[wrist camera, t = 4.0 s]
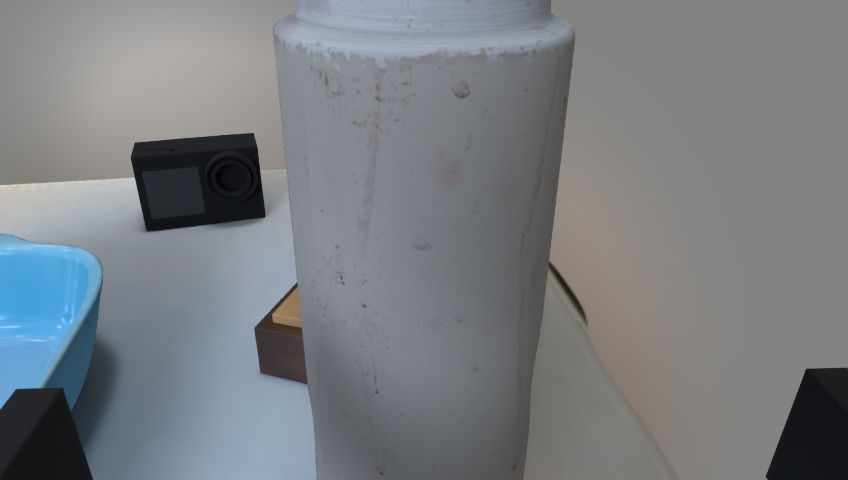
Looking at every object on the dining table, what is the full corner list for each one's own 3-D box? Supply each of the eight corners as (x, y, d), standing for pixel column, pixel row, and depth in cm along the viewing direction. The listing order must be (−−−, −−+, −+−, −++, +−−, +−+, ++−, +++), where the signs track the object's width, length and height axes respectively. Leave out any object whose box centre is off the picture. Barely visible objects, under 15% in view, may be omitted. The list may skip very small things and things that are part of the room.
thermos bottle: (464, 468, 31) (501, -202, 19) (547, 614, 25) (693, -267, 12) (308, 515, 29) (226, -224, 16) (355, 693, 22) (278, -324, 9)
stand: (523, 294, 46) (528, 246, 44) (484, 423, 34) (489, 366, 32) (350, 265, 50) (347, 220, 48) (260, 373, 38) (252, 319, 36)
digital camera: (144, 238, 53) (127, 161, 50) (148, 212, 58) (133, 141, 55) (267, 223, 56) (258, 150, 53) (261, 200, 61) (253, 131, 58)
